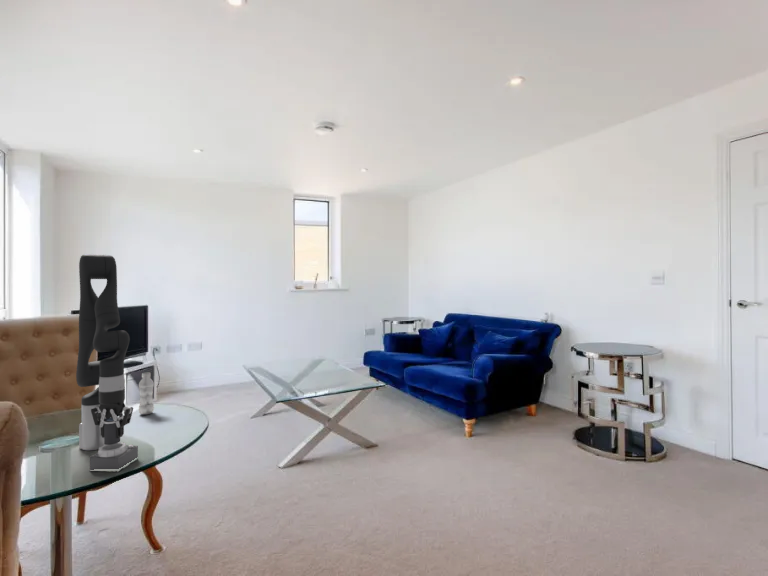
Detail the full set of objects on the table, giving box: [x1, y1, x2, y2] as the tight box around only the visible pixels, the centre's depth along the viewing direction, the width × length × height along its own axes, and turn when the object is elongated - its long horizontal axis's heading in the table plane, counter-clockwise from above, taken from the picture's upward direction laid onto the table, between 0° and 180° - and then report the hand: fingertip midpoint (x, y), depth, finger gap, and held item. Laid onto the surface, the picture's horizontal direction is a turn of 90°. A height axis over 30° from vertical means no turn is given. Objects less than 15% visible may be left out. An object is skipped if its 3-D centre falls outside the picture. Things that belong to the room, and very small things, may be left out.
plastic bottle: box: [138, 371, 155, 416], centre depth 195 cm, size 6×7×20 cm
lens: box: [104, 416, 121, 445], centre depth 140 cm, size 5×5×8 cm
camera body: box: [89, 441, 139, 471], centre depth 141 cm, size 10×10×7 cm
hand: (112, 436), depth 140 cm, fingers closed on lens, 4 cm apart
